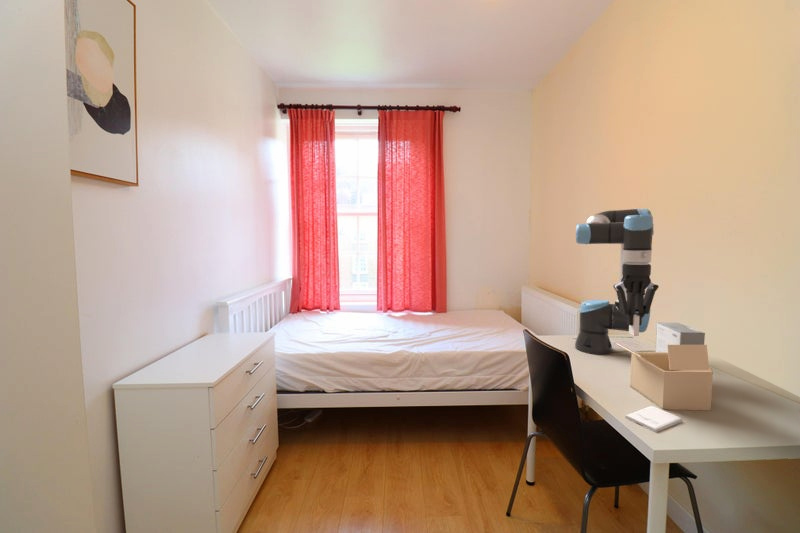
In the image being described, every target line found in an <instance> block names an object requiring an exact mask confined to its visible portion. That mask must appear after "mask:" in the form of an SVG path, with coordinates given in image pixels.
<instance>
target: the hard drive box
mask: <svg viewBox="0 0 800 533" xmlns="http://www.w3.org/2000/svg"><path fill="white" fill-rule="evenodd" d="M705 337H706V332H703V331H701V330H698V329H696V328H693V327H690V326H687V325H684V324H682V323H679V322H665V321H663V322H662V321H661V322H660V321H657V322H656V335H655V352H668V348H667V345H705V339H706V338H705Z"/></svg>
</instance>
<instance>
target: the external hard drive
mask: <svg viewBox="0 0 800 533" xmlns="http://www.w3.org/2000/svg"><path fill="white" fill-rule="evenodd" d="M624 418H625V419H626V420H628V421H631V422H633V423H635V424H637V425H641V426H642V427H643V428H646V429H648V430H649V431H652V432H654V433H657V432H660V431H662V430H664V429H667V428H669V427H672V426H674V425H677V424H680V423H682V421H683V419H682V418H681V417H680V416H677V415H675V414H673V413H670V412H668V411H665V410H664V409H661V408H659V407H656V406H654V405H650V406H648V407H647V406H646V407H645V408H642V409H638V410H637V411H634V412H631V413H628V414H625V416H624Z"/></svg>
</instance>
